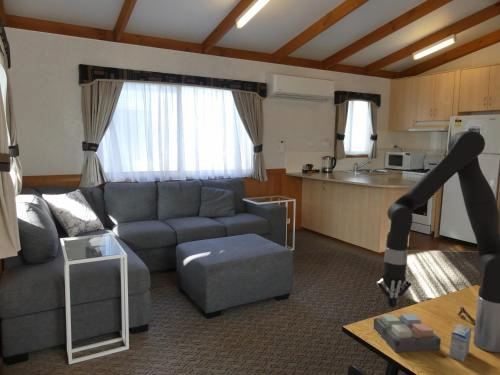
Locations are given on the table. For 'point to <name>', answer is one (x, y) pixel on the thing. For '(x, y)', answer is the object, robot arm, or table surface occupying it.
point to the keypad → (406, 339)
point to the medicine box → (460, 342)
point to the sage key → (390, 320)
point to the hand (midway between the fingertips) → (391, 306)
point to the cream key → (401, 331)
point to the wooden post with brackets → (466, 315)
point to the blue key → (409, 319)
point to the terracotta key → (422, 330)
